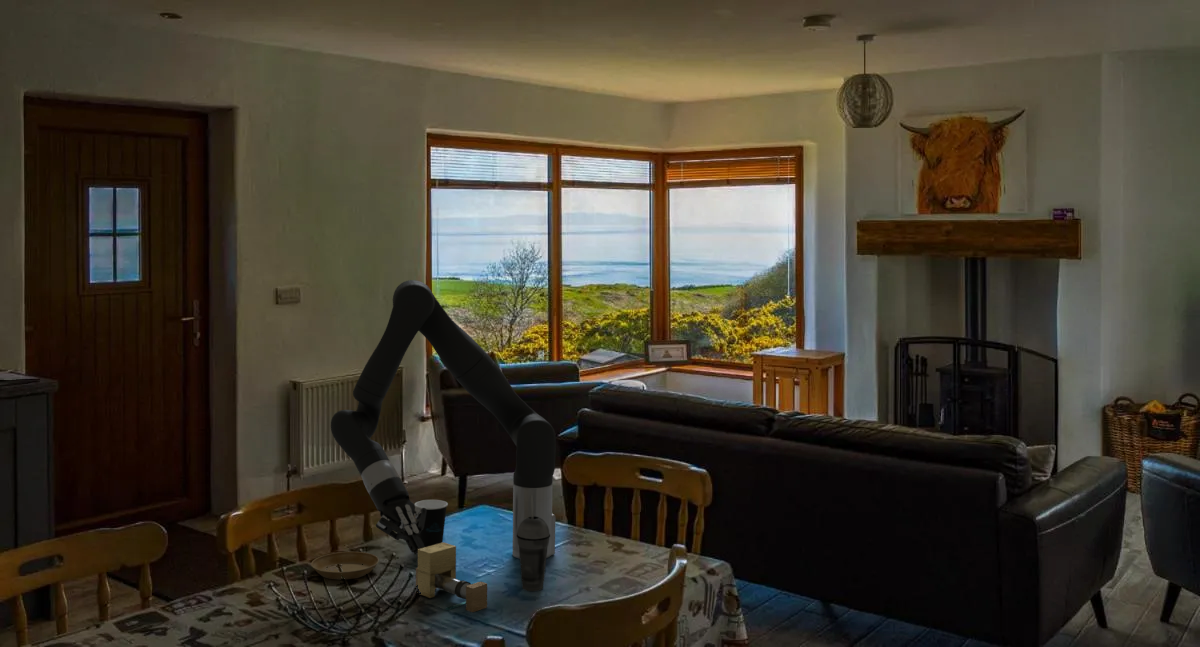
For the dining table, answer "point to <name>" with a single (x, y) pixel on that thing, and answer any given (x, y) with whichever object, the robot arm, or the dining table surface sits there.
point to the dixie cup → (433, 521)
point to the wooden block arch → (435, 566)
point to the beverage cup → (533, 551)
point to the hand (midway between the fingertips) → (419, 551)
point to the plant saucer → (345, 564)
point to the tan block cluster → (462, 591)
